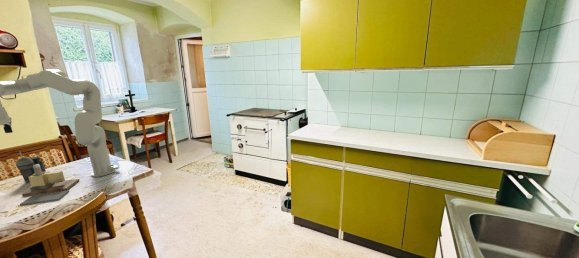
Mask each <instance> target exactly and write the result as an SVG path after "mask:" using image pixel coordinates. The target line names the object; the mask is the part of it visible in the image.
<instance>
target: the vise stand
mask: <svg viewBox="0 0 579 258" xmlns="http://www.w3.org/2000/svg"><path fill="white" fill-rule="evenodd" d="M33 168H34V171H35V174H36V176H39V175H42V171H41V168H40V165H39V164H36V165H33ZM79 182H80V178H74V179H67V180H66V179H65V181H63V182H60V183H51V184H47V185H45V186H37V187H31V186H30V188H29V189H28V190H26V191H24V192H22V193H21V196H22V197H27V196H28V197H29V196H30V197H31V196H33V195H38V194H46V193H54V192H61V191H70V189H71V188H73V187H74V186H76V185H77V184H78V183H79Z"/></svg>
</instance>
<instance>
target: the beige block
mask: <svg viewBox="0 0 579 258" xmlns="http://www.w3.org/2000/svg"><path fill="white" fill-rule="evenodd" d="M28 178H29V181H30V183H29V184H30V185H31V186H30V187H37V186H45V185H47V184H51V183H60V182H63V181H65V180H66V178H65V175H64V173H63V170H58V171H50V170H49V171H46V172H42V175H39V176H36V174H33V175H31V176H30V177H28Z"/></svg>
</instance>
